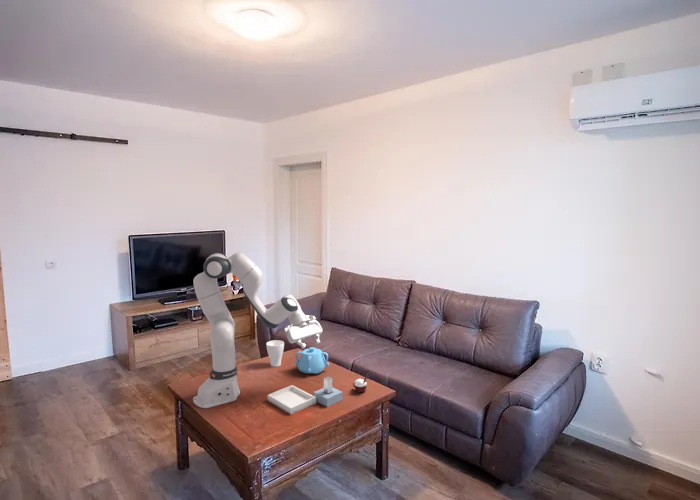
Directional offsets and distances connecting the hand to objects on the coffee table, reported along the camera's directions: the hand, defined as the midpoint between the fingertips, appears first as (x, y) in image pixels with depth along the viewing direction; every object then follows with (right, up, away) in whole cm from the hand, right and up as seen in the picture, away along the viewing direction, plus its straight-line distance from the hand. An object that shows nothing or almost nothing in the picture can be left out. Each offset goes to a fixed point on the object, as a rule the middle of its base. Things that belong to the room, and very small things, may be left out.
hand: (311, 345), depth 205 cm
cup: (-25, -21, +38) cm, 50 cm away
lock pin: (+9, -25, -6) cm, 27 cm away
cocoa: (+25, -24, +3) cm, 35 cm away
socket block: (+9, -25, -6) cm, 27 cm away
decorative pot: (-3, -22, +29) cm, 36 cm away
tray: (-9, -26, -8) cm, 28 cm away
